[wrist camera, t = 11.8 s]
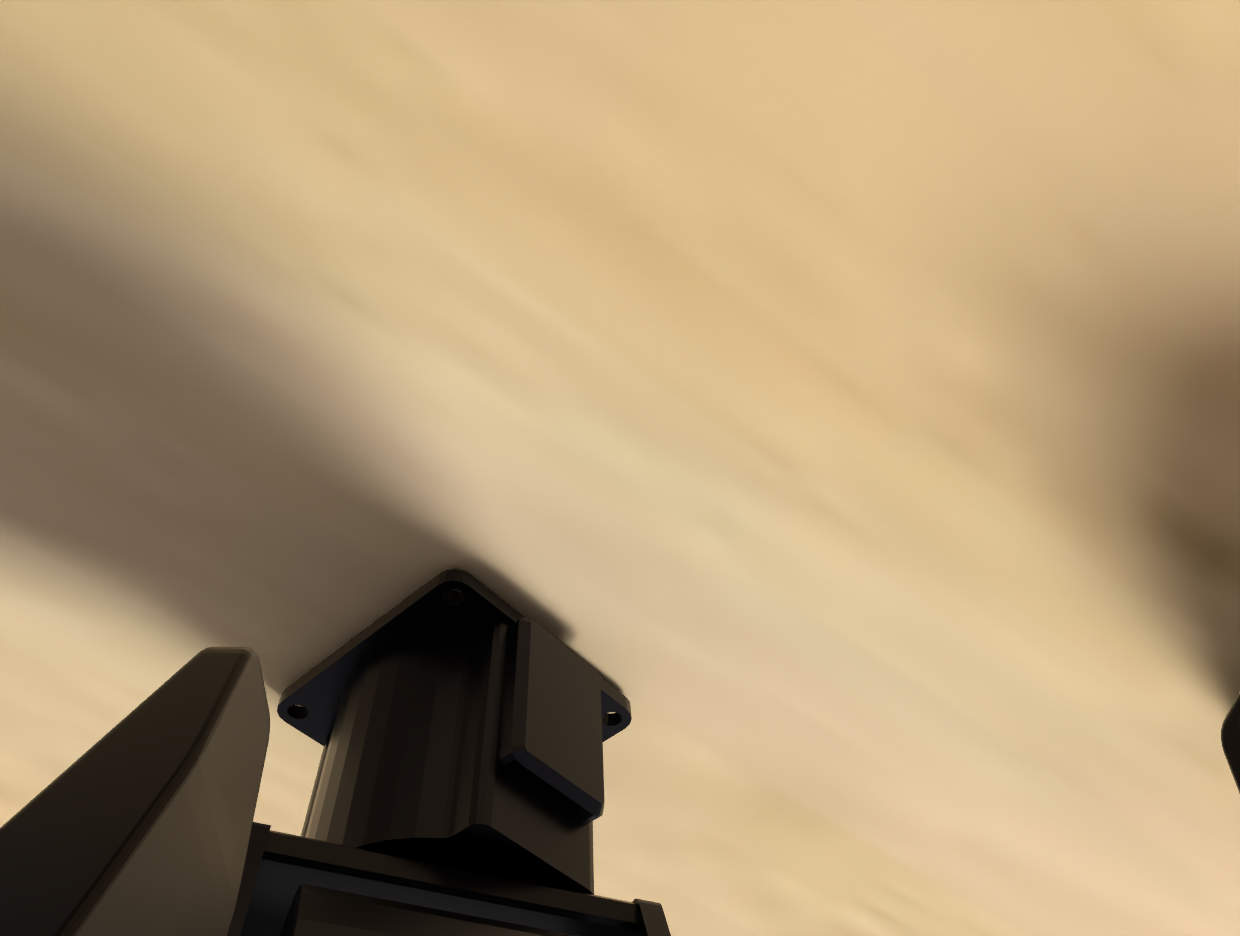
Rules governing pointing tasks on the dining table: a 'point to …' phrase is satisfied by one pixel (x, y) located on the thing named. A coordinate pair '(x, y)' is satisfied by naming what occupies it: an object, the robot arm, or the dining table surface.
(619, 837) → the dining table surface
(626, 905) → the robot arm
